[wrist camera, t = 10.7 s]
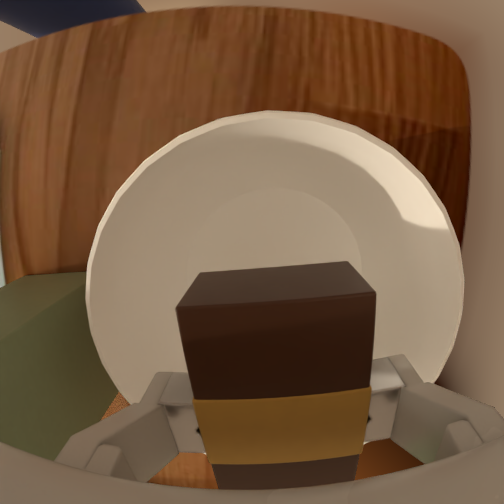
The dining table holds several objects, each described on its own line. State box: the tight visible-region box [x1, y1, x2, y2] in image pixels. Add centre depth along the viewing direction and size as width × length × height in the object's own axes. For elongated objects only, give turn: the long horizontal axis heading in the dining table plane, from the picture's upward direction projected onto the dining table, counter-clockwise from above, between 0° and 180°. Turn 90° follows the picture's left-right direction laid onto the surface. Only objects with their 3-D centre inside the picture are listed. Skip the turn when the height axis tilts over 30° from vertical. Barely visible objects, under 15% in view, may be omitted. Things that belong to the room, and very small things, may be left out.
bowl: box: [85, 110, 464, 454], centre depth 16 cm, size 16×16×8 cm
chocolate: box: [175, 261, 377, 490], centre depth 8 cm, size 7×4×3 cm, turn 5°
